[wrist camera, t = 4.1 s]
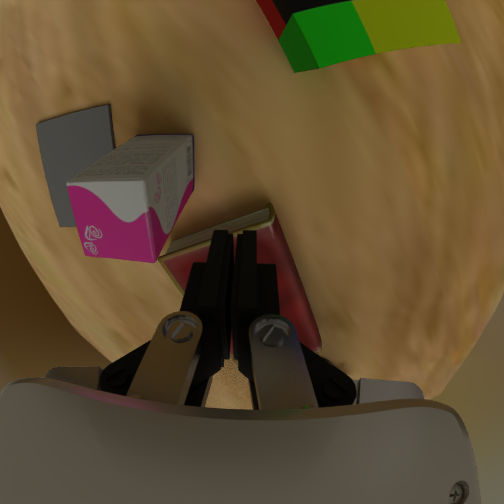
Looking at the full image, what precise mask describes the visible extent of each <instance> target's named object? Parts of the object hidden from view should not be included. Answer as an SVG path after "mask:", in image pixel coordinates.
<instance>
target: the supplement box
mask: <svg viewBox="0 0 504 504" xmlns="http://www.w3.org/2000/svg"><path fill="white" fill-rule="evenodd" d="M66 184H67V189H68V194H69V198H70V202H71V207H72V211H73V214H74V218H75V222H76V226H77V229H78V233H79V236H80V240H81V243H82V247H83V250H84V253H85V255H86V256H92V257H102V258H114V259H123V260H131V261H140V262H148V263H155V262H156V260H157V258H158V256H159V254H160V252H161V250H162V248H163V246H164V244H165V242H166V240H167V238H168V236H169V234H170V232H171V230H172V228H173V227H174V225H175V223H176V221H177V219H178V217H179V215H180V213H181V212H182V210H183V208H184V206H185V204H186V202H187V201H188V199H189V197H190V195H191V194H192V192H193V190H194V135H193V134H162V135H137V136H135V137H134V138H132V139H130V140H128V141H127V142H125V143H124V144H122V145H120V146H119V147H117V148H115V149H114V150H112V151H111V152H109V153H108V154H106V155H104V156H103V157H101V158H100V159H98V160H97V161H95V162H94V163H92V164H91V165H89V166H88V167H87V168H85V169H84V170H82V171H81V172H79V173H78V174H77V175H75V176H74V177H73V178H71V179H70V180H69V181H67V183H66Z"/></svg>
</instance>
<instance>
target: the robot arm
mask: <svg viewBox="0 0 504 504" xmlns="http://www.w3.org/2000/svg"><path fill="white" fill-rule="evenodd" d="M231 334H232V341H233V355H234V360H238V368H239V371H240V372H241V373H242V374H243V375H244V376H246V377H247V378H248V383H249V390H250V396H251V402H252V409H253V410H243V409H221V408H207V407H205V404H206V400H207V397H208V393H209V390H210V386H211V383H212V377H213V375H214V374H215V373H217V372H218V371H219V370H221V367H224V359H230V347H231ZM0 504H481V498H480V488H479V480H478V472H477V466H476V462H475V457H474V453H473V449H472V444H471V441H470V438H469V435H468V432H467V430H466V427H465V425H464V422H463V421H462V419H461V417H460V415H459V414H458V413H457V412H456V411H455V410H454V409H453V408H452V407H450V406H448V405H446V404H443V403H440V402H437V401H433V400H427V399H424V396H423V392H422V390H421V389H420V388H419V386H417V385H416V384H414V383H411V382H405V381H389V380H377V379H366V378H360V380H352V379H351V378H350V377H349V376H348V375H346V374H345V373H343V372H342V371H341V370H339V369H338V368H336V367H335V366H333V364H332V363H330V362H329V361H327V360H325V359H323V358H322V357H320V356H319V355H318V354H316V353H315V352H313V351H312V350H311V349H309V348H308V347H306V346H305V345H304V344H302V343H301V342H299V339H298V336H297V332H296V329H295V327H294V325H293V323H292V322H291V321H290V320H288V319H287V318H285V317H283V316H280V306H279V293H278V280H277V268H276V264H265V263H257V230H243V234H237V242H236V252H235V262H234V238H233V234H228V230H214V231H213V235H212V239H211V244H210V248H209V252H208V257H207V261H206V262H193V264H192V267H191V271H190V274H189V278H188V282H187V285H186V289H185V293H184V297H183V301H182V304H181V308H180V311H178V312H173V313H171V314H169V315H167V316H166V317H164V318H163V319H162V320H161V322H160V323H159V325H158V327H157V329H156V331H155V333H154V335H153V337H152V340H150V341H148V342H147V343H145V344H143V345H142V346H140V347H138V348H137V349H135V350H133V351H132V352H130V353H128V354H127V355H125V356H123V357H121V358H120V359H118V360H116V361H115V362H113V363H111V364H110V365H108V366H107V367H106V368H105V369H101V368H100V367H99V366H88V367H54V368H52V369H51V370H49V371H48V373H47V374H46V376H45V378H40V377H34V378H23V379H19V380H15V381H13V382H11V383H9V384H8V385H6V386H5V388H4V389H3V390H2V392H1V393H0Z"/></svg>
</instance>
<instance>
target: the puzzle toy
mask: <svg viewBox="0 0 504 504" xmlns="http://www.w3.org/2000/svg"><path fill="white" fill-rule="evenodd" d="M256 1H257V2H258V4H259V6H260V8H261V9H262V11H263V13H264V15H265V16H266V18H267V20H268V22H269V23H270V25H271V27H272V29H273V31H274V33H275V35H276V36H277V38H278V40H279V42H280V44H281V46H282V48H283V50H284V52H285V54H286V56H287V58H288V60H289V62H290V64H291V66H292V68H293V71H294V73H297V72H302V71H307V70H313V69H319V68H322V67H326V66H329V65H333V64H336V63H340V62H344V61H348V60H351V59H356V58H360V57H364V56H368V55H373V54H378V53H383V52H388V51H394V50H399V49H406V48H412V47H420V46H428V45H438V44H451V43H461V40H460V37H459V34H458V31H457V29H456V26H455V23H454V21H453V18H452V16H451V13H450V11H449V9H448V6H447V4H446V2H445V0H256Z"/></svg>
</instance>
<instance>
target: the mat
mask: <svg viewBox="0 0 504 504" xmlns="http://www.w3.org/2000/svg"><path fill="white" fill-rule="evenodd" d="M36 129H37V136H38V142H39V147H40V153H41V158H42V163H43V167H44V172H45V176H46V180H47V184H48V188H49V192H50V196H51V199H52V203H53V206H54V210H55V213H56V216H57V219H58V222H59V226H60V227H77V226H76V222H75V218H74V214H73V211H72V207H71V202H70V198H69V194H68V189H67V184H66V183H67V181H69V180H70V179H71V178H73V177H74V176H75V175H77V174H78V173H79V172H81V171H82V170H84V169H85V168H87V167H88V166H89V165H91V164H92V163H94V162H95V161H97V160H98V159H100V158H101V157H103V156H104V155H106V154H108V153H109V152H111V151H112V150H114V149H115V142H114V134H113V125H112V116H111V105H110V104H108V105H104V106H99V107H95V108H90V109H86V110H82V111H78V112H74V113H71V114H67V115H64V116H60V117H57V118H54V119H50V120H47V121H44V122H41V123H38V124H36Z"/></svg>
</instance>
